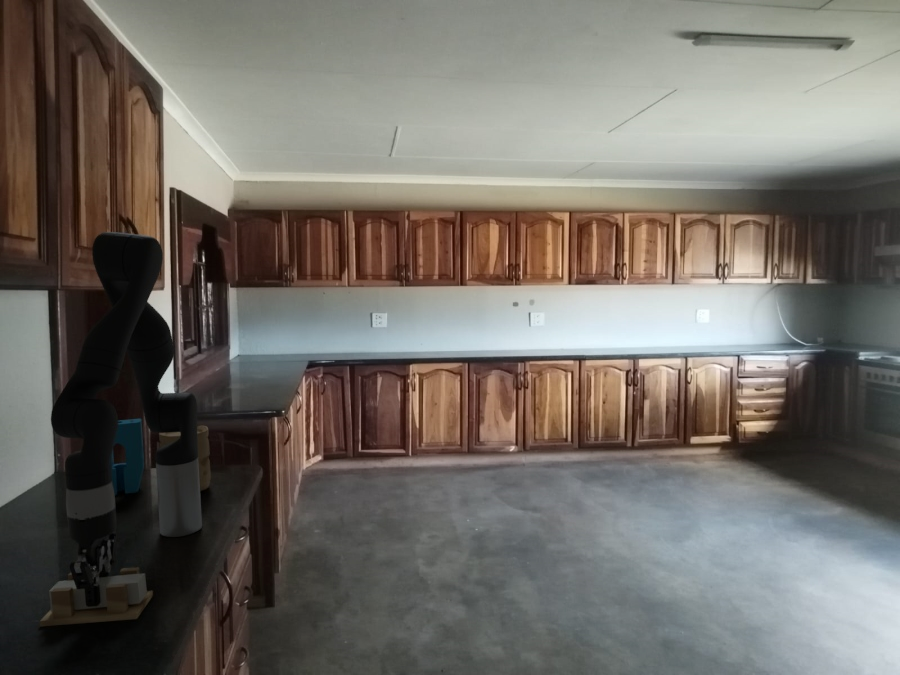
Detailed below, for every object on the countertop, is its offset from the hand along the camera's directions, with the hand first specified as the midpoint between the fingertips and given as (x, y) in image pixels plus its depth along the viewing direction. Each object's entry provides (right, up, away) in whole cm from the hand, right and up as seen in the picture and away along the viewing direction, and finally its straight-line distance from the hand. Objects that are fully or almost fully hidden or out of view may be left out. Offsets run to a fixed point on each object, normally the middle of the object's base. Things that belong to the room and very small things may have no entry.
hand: (98, 598), depth 111 cm
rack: (0, -2, 0) cm, 2 cm away
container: (-10, +4, +60) cm, 61 cm away
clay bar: (0, -1, 0) cm, 1 cm away
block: (-29, +4, +62) cm, 68 cm away
